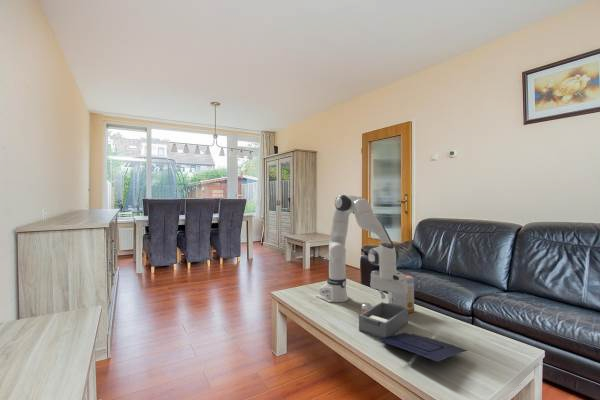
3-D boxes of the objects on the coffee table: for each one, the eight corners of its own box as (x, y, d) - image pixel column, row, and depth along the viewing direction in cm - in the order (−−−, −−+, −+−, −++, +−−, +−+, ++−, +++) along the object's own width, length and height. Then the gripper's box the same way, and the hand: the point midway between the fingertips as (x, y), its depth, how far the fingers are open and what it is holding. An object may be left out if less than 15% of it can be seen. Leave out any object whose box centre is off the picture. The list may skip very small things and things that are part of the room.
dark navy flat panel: (407, 337, 145) (407, 330, 145) (469, 357, 120) (468, 348, 121) (375, 345, 131) (375, 337, 132) (437, 369, 107) (437, 359, 107)
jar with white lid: (359, 316, 163) (360, 302, 162) (367, 316, 164) (369, 302, 163) (362, 320, 158) (363, 306, 158) (371, 320, 159) (372, 306, 158)
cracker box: (409, 308, 175) (408, 274, 175) (414, 312, 169) (414, 277, 169) (387, 310, 173) (387, 276, 173) (392, 314, 167) (392, 278, 167)
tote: (357, 331, 146) (357, 315, 146) (383, 315, 166) (382, 301, 166) (385, 341, 135) (384, 324, 135) (408, 322, 155) (408, 308, 155)
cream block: (365, 328, 146) (365, 319, 146) (372, 324, 151) (371, 315, 151) (383, 335, 139) (383, 324, 139) (389, 330, 145) (389, 320, 145)
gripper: (367, 272, 159) (368, 296, 159) (403, 278, 145) (404, 305, 145) (373, 269, 164) (373, 293, 164) (408, 275, 150) (409, 302, 150)
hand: (388, 299), depth 154 cm, fingers open, 5 cm apart
